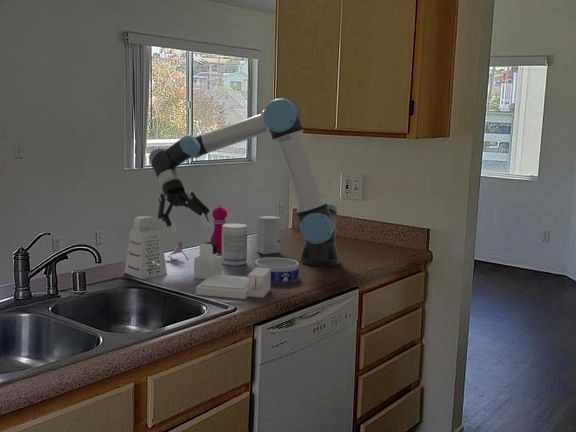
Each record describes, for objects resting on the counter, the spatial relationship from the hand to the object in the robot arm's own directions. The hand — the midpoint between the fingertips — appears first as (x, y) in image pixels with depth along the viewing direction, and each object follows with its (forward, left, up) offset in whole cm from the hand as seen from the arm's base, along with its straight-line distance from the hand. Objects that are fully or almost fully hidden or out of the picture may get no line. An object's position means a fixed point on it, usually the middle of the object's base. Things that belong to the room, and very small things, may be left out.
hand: (192, 231), depth 230 cm
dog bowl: (-31, 0, -15) cm, 34 cm away
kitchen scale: (-22, +20, -14) cm, 33 cm away
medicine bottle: (-8, +6, -15) cm, 18 cm away
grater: (+14, +8, -15) cm, 22 cm away
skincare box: (-19, -41, -15) cm, 47 cm away
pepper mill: (0, -34, -15) cm, 37 cm away
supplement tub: (-11, -17, -15) cm, 25 cm away
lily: (+11, -16, -15) cm, 24 cm away
